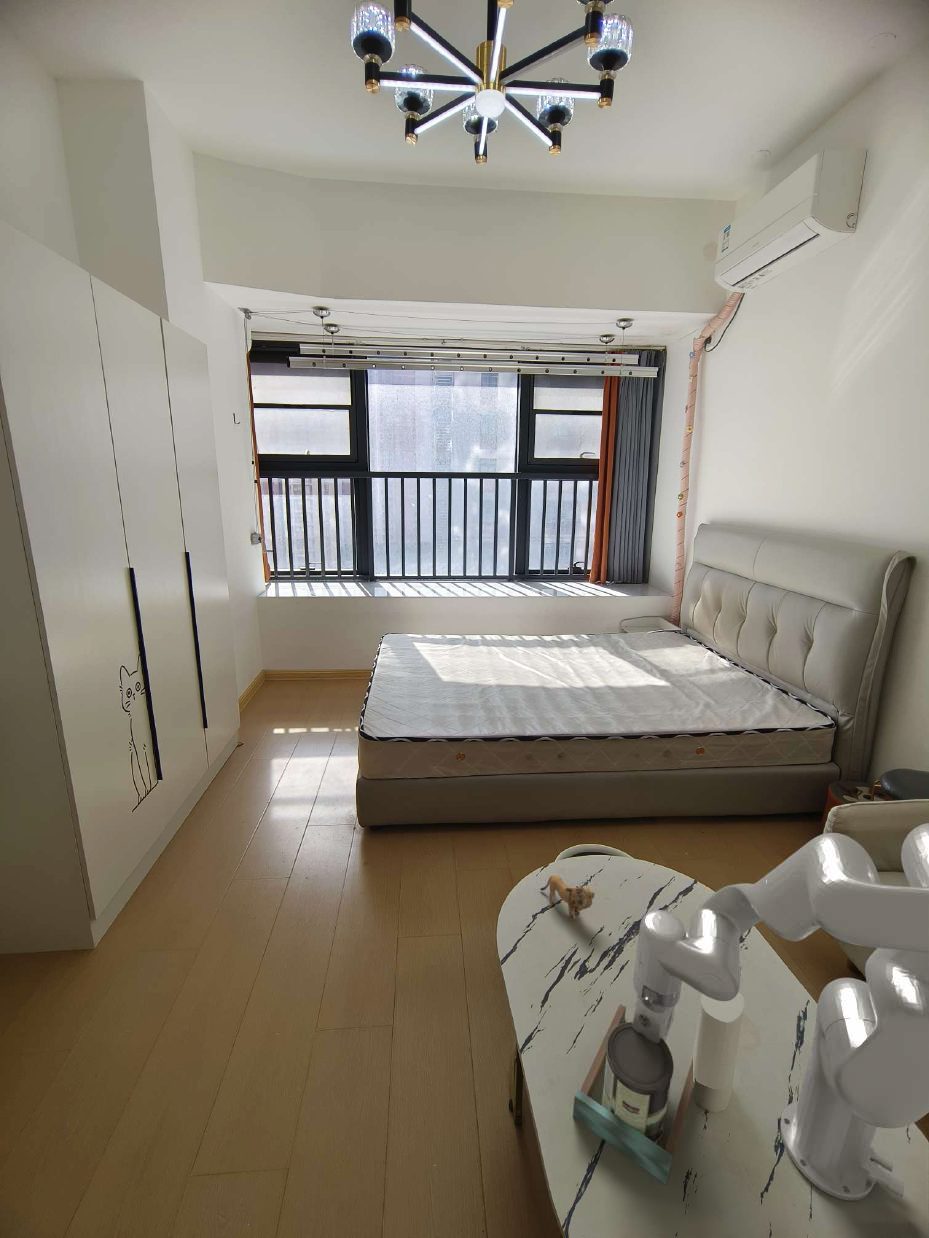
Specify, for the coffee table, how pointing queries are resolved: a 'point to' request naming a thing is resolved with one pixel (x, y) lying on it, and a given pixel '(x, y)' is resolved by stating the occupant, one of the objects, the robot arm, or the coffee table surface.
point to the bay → (620, 1131)
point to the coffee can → (637, 1080)
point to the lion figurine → (570, 895)
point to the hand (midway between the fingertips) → (645, 1059)
